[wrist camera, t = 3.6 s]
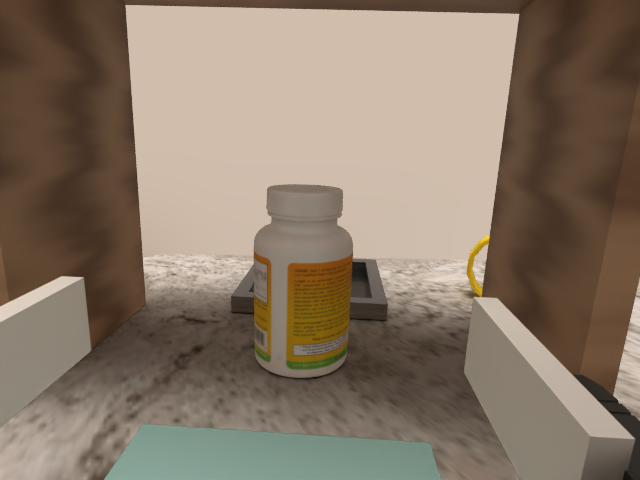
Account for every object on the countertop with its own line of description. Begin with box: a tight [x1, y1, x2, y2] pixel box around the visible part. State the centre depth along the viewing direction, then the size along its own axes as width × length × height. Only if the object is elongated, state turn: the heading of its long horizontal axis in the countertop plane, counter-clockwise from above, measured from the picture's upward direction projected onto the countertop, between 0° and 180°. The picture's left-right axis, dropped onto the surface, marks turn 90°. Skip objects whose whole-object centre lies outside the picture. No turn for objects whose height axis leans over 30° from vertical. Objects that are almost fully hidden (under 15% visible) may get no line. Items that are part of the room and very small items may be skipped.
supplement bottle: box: [254, 185, 353, 378], centre depth 23 cm, size 5×5×10 cm
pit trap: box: [231, 259, 388, 320], centre depth 35 cm, size 11×11×1 cm
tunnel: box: [0, 0, 640, 395], centre depth 22 cm, size 13×27×22 cm, turn 87°
